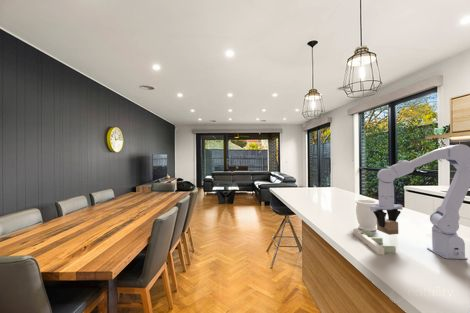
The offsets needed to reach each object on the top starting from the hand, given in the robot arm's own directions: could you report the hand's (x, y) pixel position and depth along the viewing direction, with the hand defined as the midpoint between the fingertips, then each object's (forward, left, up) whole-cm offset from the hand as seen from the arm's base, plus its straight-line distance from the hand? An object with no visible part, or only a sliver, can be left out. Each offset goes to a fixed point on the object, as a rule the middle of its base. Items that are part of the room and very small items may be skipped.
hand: (386, 226), depth 97 cm
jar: (+22, -2, -9) cm, 24 cm away
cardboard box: (0, 0, -2) cm, 2 cm away
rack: (+2, +5, -9) cm, 10 cm away
